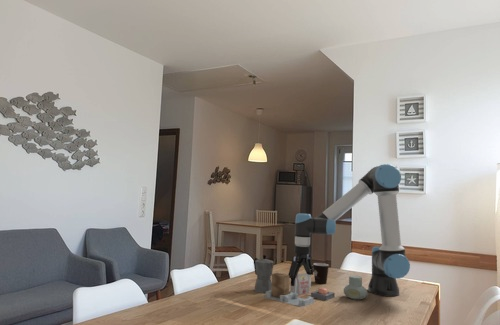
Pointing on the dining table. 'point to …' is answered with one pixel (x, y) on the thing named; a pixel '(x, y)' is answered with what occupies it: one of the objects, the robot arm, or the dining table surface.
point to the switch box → (322, 295)
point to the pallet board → (291, 299)
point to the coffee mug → (320, 273)
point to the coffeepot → (263, 274)
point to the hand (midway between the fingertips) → (300, 290)
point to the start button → (322, 291)
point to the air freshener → (355, 288)
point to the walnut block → (279, 285)
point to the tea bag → (302, 284)
